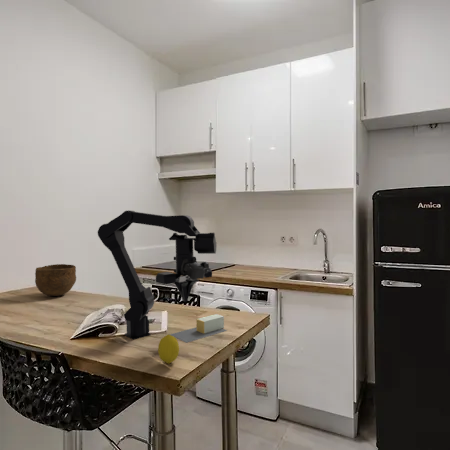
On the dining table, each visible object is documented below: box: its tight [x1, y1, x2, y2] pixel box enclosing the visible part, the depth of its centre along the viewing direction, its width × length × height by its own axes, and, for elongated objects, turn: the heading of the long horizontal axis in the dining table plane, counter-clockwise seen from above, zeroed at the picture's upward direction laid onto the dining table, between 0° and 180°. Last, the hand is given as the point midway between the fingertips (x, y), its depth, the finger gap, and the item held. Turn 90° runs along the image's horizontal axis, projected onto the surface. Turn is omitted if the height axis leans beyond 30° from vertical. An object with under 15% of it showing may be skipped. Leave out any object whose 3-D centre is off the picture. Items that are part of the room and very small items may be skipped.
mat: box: [169, 326, 228, 344], centre depth 117 cm, size 17×10×1 cm, turn 131°
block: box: [195, 313, 225, 334], centre depth 120 cm, size 4×4×9 cm
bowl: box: [34, 263, 77, 297], centre depth 175 cm, size 19×19×15 cm
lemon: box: [157, 333, 180, 365], centre depth 93 cm, size 6×6×8 cm
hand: (185, 301), depth 113 cm, fingers closed
